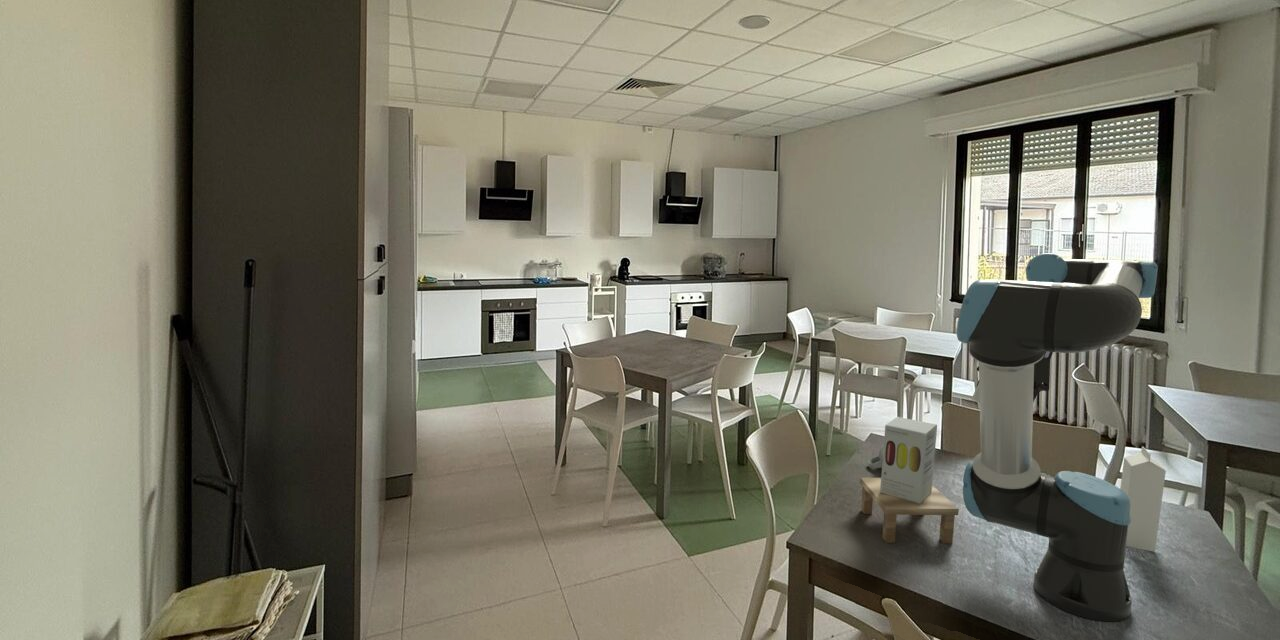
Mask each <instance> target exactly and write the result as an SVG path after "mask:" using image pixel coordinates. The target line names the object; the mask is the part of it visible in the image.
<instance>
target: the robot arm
mask: <svg viewBox="0 0 1280 640" xmlns="http://www.w3.org/2000/svg"><path fill="white" fill-rule="evenodd" d="M1158 267H1159V266H1158V265H1157V262H1154V261H1143V260H1137V259H1136V260H1135V259H1134V260H1117V259H1116V260H1115V259H1114V260H1113V259H1111V260H1109V259H1108V260H1106V259H1100V260H1099V259H1098V260H1097V259H1077V258H1071V259H1070V258H1062V257H1061V256H1059V255H1058V254H1055V253H1050V252H1049V253H1046V252H1045V253H1040V254H1037V255H1036V256H1034V257H1033V258H1031V259H1030V260H1029V261H1028V263H1027V265H1026V267H1025V275H1026V280H1012V279H1011V280H1010V279H1009V280H1008V279H1002V278H998V279H977V280H975V281H974V282H972V283H971V284H970V285H969V287H968V289H967V290H966V292H965V295H964V297H963V300H962V304H961V307H960V310H959V315H958V320H957V326H956V327H957V328H956V337H957V341H958V342H961V343H963V344H968V346H969V347H968V350H969V355H970V356H971V357H972V358H973V360H975V361H976V362H978V366H977V367H976V371H977V372H978V374H979V375H978V377H979V379H978V381H977V383H976V388H975V390H974V392H973V394H972V397H971V400H973V401H974V402H976V403H977V402H978V403H979V424H980V425H979V426H980V429H979V431H980V452H979V453H978V454H976V455H975V457H973V459H972V460H969V461H968V463H967V464H966V466H965V468H964V472H963V477H962V482H963V483H962V484H963V487H962V496H963V498H962V499H963V502H964V506H965V509H966V511H968V513H969V514H970V515H972V516H973V517H975V518H978V519H981V520H984V521H986V522H988V523H992V524H996V525H997V524H998V525H1002V526H1004V527H1008V528H1012V529H1016V530H1018V531H1023V532H1025V533H1030V534H1033V535H1038V536H1041V537H1045V538H1048V546H1047V547H1048V548H1047V551H1046V552H1045V554H1044V556H1043V558H1042V559H1041V562H1040V564H1039V566H1038V567H1037V568H1036V569H1035V571H1034V574H1033V588H1034V589H1035V592H1036V593H1038V595H1039V596H1041V598H1043V599H1044V600H1045V601H1047V602H1048V603H1050V604H1051V605H1053V606H1054V607H1057V608H1058V609H1061V610H1062V611H1065V612H1067V613H1069V614H1073V615H1076V616H1078V617H1082V618H1085V619H1089V620H1094V621H1095V620H1096V621H1102V622H1119V621H1123V620H1125V619H1128V617H1130V615H1131V611H1132V603H1133V602H1132V596H1131V594H1130V590H1129V586H1128V583H1127V579H1126V575H1125V572H1124V567H1125V560H1126V559H1125V558H1126V551H1127V550H1126V549H1127V547H1126V543H1127V534H1128V525H1129V524H1130V522H1131V517H1130V507H1131V503H1130V499H1129V497H1128V496H1127V495H1126V493H1125V492H1123V491H1122V490H1121V489H1120V488H1119V487H1118V486H1116V485H1114V483H1112V482H1109V481H1107V480H1105V479H1103V478H1100V477H1097V476H1095V475H1091V474H1087V473H1083V472H1080V471H1069V470H1062V471H1059V472H1057V473H1056V474H1055V475H1054V477H1053V476H1049V475H1045V474H1041V473H1042V472H1041V468H1040V465H1039V463H1038V462H1037V461H1036V459H1034V458H1033V422H1034V421H1033V418H1034V417H1033V415H1034V402H1035V400H1036V398H1037V396H1038V393H1040V392H1044V391H1045V392H1048V391H1049V390H1050V383H1051V382H1050V381H1051V379H1050V376H1051V375H1050V374H1051V373H1050V372H1051V359H1052V356H1053V353H1059V354H1060V353H1061V354H1078V353H1086V352H1090V351H1095V350H1098V349H1102V348H1105V347H1108V346H1111V345H1114V344H1116V343H1118V342H1120V341H1121V340H1124V339H1125V338H1126V337H1128V336H1129V335H1130V334H1131V333H1133V332H1134V331H1135V329H1136V328H1137V327H1138V325H1139V323H1140V322H1141V321H1140V320H1141V319H1142V316H1143V315H1142V314H1143V307H1142V303H1141V301H1140V299H1150V298H1152V297H1154V296H1155V292H1156V286H1157V285H1156V284H1157V278H1158V270H1159V269H1158Z"/></svg>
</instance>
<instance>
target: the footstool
mask: <svg viewBox="0 0 1280 640" xmlns="http://www.w3.org/2000/svg"><path fill="white" fill-rule="evenodd" d="M859 484H860V486H862V487H861V488H862V490H861V505H860V506H861V507H860V511H861V512H862V514H864V515H872V514H873V503H874V501H875V504H877V505H878V507H880V508H881V510H882V511H883V520H882V521H883V524H882V540H883V541H884V542H885V543H886V544H889V543H890V544H891V543H893V544H894V543H895V542H896V530H897V529H896V528H897V516H899V515H901V516H902V515H904V516H906V515H907V516H916V515H917V516H940V524H939V525H940V527H939V536H938V537H939V540H940V541H941V543H943V544H953V542H954V530H955V529H954V528H955V516H959V510H960V509H959V508H958V507H957V506H956V505H955V504H954V503H953V502H952V501H950V499H948V498H947V497H946V496H945V495H944V494H943V493H942V492H941V491H939V490H938V489H937V488H936V487H935V486H934V485H932V491H931V493H930V494H929V495H928V496H927V497H926V498H925V499H924V501H923V502H922V503H921V504H919V503H915V502H912V501H908V500H905V499H901V498H898V497H894V496H891V495H887V494H884V493H880V486H881V477H860V478H859ZM873 500H874V501H873Z"/></svg>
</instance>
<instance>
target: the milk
mask: <svg viewBox="0 0 1280 640" xmlns="http://www.w3.org/2000/svg"><path fill="white" fill-rule="evenodd" d="M1166 473H1167V470H1165V468H1164V467H1163V466H1162V465H1161V464H1160V463H1159V462H1158V461H1157V460H1155V459H1153V458H1152V457H1151V453H1150V451H1148V450H1147V449H1146V448H1145V447H1144V446H1141V449H1140V452H1137V453H1134V454H1131V455H1126V456H1124V458H1123V465H1122V473H1121V480H1120V489H1121V490H1122V491H1123V492H1125V493H1126V495H1127V496H1128V497H1129V499H1130V503H1131V507H1130V517H1131V522H1130V524H1129V525H1128V534H1127V543H1126V548H1131V549H1138V550H1143V551H1148V552H1154V553H1155V552H1156V547H1157V540H1158V539H1157V538H1158V533H1159V532H1158V531H1159V524H1160V517H1161V510H1162V503H1163V494H1164V487H1165V480H1166V479H1165V478H1166Z"/></svg>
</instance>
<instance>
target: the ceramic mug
mask: <svg viewBox="0 0 1280 640" xmlns="http://www.w3.org/2000/svg"><path fill="white" fill-rule="evenodd" d="M883 448H884V444H883V445H882V446H881V447H880V449H879V451H878V455H877V456H875V457H873V458H871V459H869V460H868V461H867V465H868V467H869V468H870V469H871V468H872V469H873V470H875V469H882V461H883Z"/></svg>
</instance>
